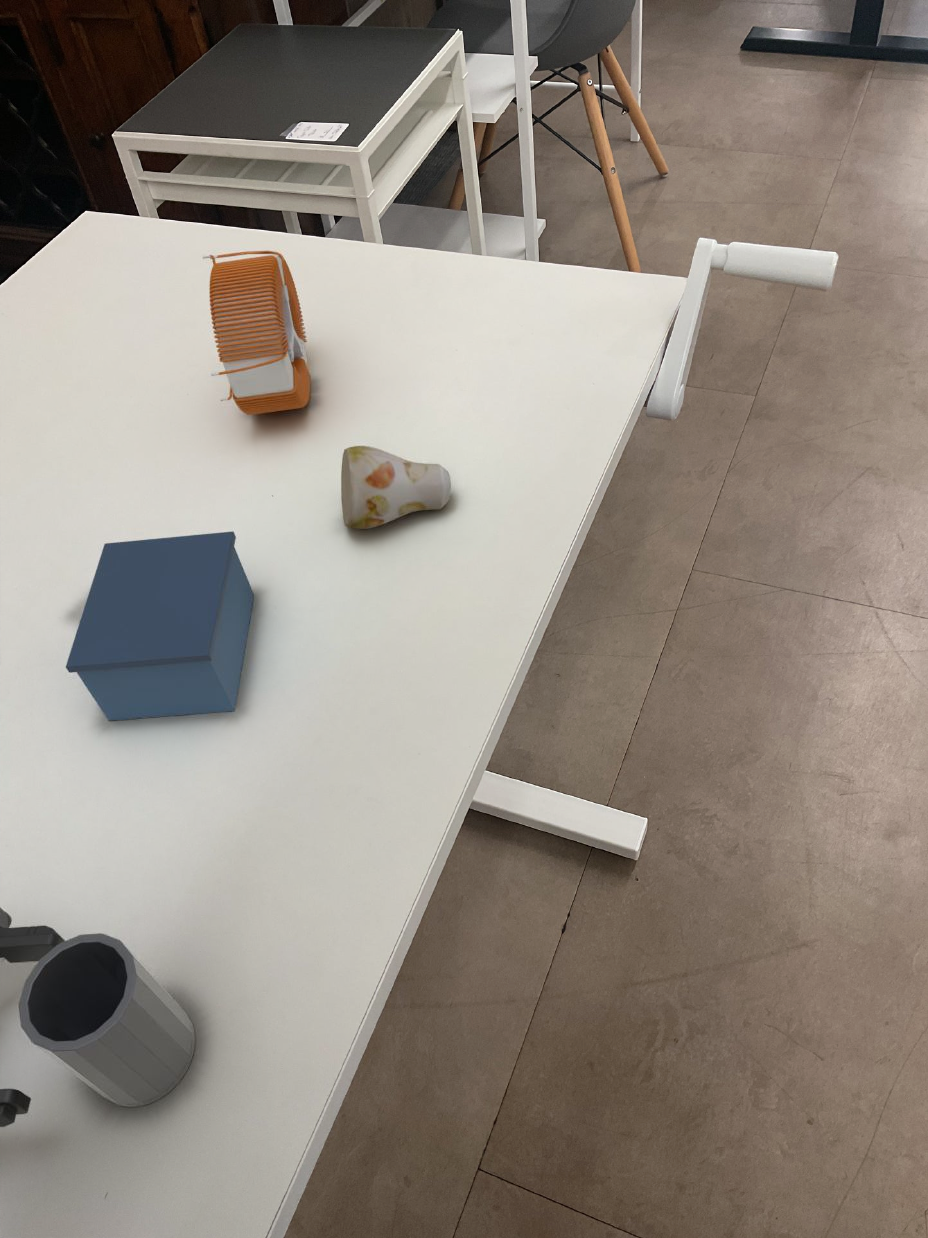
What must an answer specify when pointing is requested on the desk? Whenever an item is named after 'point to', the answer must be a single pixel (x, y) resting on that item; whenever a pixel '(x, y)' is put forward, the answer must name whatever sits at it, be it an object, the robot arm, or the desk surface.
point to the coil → (259, 332)
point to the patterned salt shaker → (388, 487)
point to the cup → (107, 1020)
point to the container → (164, 627)
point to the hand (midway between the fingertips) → (44, 1019)
